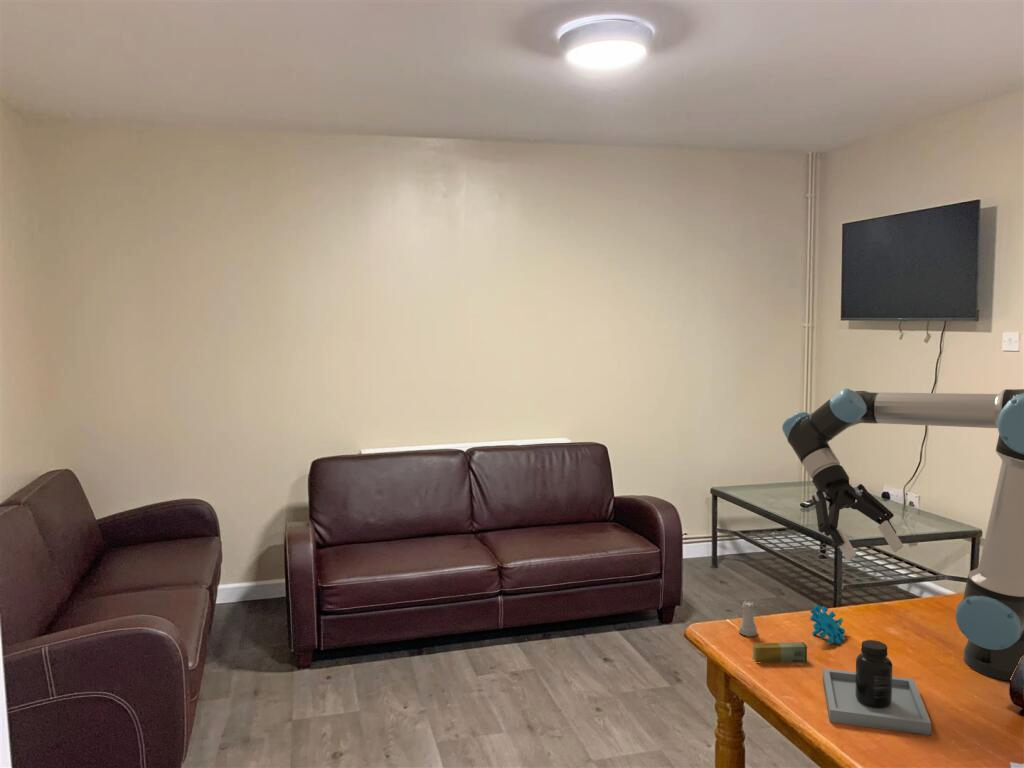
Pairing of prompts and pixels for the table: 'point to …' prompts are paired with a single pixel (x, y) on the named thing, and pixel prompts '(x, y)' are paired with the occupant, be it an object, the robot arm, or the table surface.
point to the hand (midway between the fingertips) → (876, 553)
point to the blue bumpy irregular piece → (827, 625)
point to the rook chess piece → (748, 620)
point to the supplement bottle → (874, 675)
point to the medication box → (780, 652)
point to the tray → (897, 716)
